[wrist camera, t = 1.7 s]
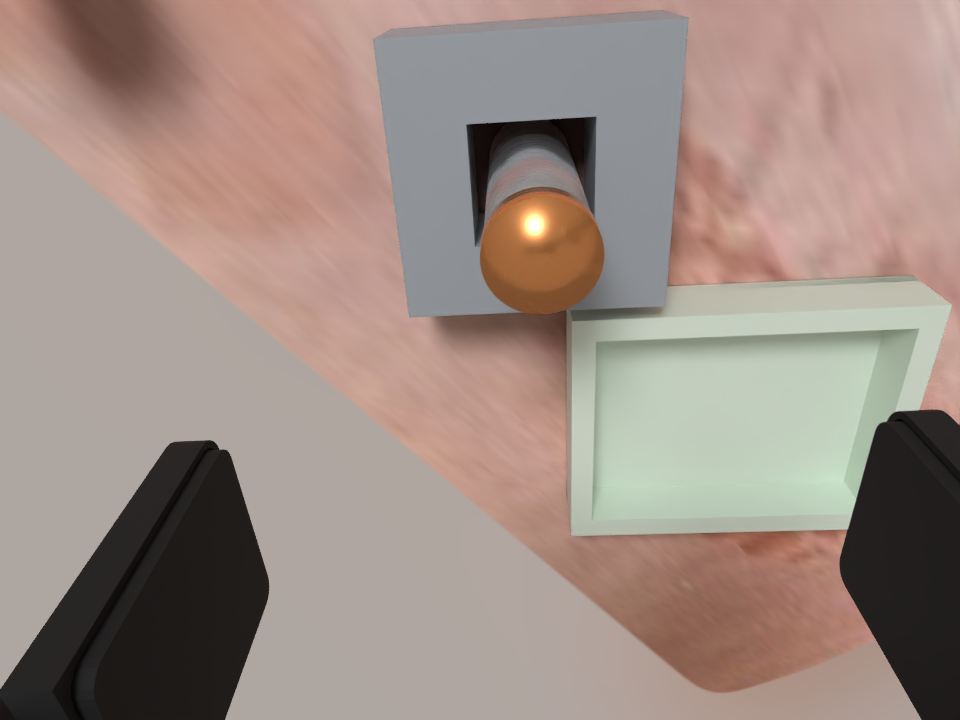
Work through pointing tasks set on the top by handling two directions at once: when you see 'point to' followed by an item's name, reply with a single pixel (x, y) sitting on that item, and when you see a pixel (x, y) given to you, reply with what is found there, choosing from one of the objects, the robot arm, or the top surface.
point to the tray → (740, 402)
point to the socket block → (523, 97)
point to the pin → (537, 222)
